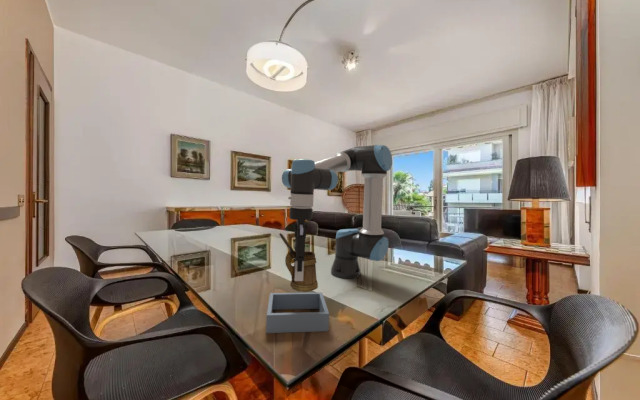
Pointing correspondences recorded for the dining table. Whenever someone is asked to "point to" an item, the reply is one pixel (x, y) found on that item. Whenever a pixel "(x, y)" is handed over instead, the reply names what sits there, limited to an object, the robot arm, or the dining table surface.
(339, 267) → the robot arm
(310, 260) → the wooden mug
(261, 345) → the dining table surface
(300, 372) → the dining table surface
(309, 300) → the box
